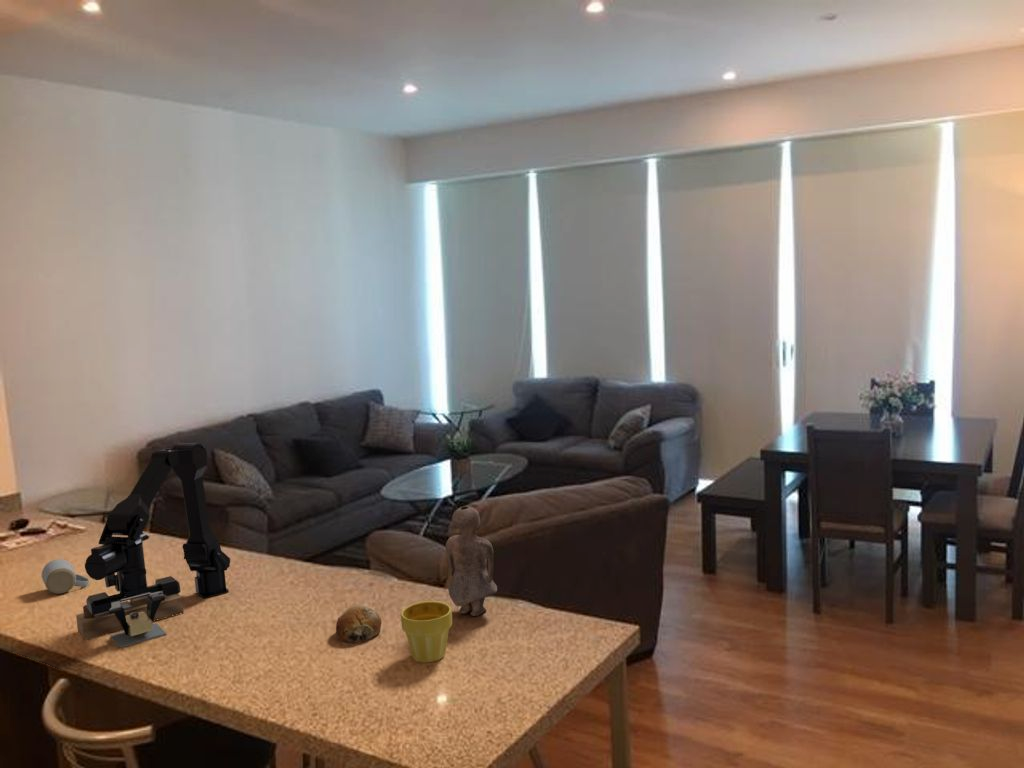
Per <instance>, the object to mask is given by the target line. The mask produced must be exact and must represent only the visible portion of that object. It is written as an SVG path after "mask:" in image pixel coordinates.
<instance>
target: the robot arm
mask: <svg viewBox="0 0 1024 768" xmlns="http://www.w3.org/2000/svg"><path fill="white" fill-rule="evenodd" d="M150 458H151V459H150V461H149V463H148V464H147V466H146V467H145V469H144V471H143V473H142V474H141V476H140V477H139V479H138V481H137V482H136V483H135V485H134V487H133V488H132V490H131V492H130V494H129V495H128V496H127V497H126V498H125V499H123V500H121V501H120V502H118V503H117V504H116V505H115V506H114V508H112V510H111V511H110V512H109V513H108V515H107V518H106V522H105V525H104V527H103V530H102V532H101V535H100V538H99V540H98V545H99V546H95V547H92V548H90V552H91V554H90V555H88V556H87V558H86V559H85V562H84V563H85V564H84V569H85V572H86V575H88V577H89V578H91V579H92V580H95V581H100V580H103V579H104V581H105V582H104V583H105V587H106V588H111V587H114V589H115V590H116V592H119V593H115V594H112V595H108V594H107V592H106V591H104V592H100V593H99V592H98V593H96V594H95V593H94V594H91V595H88V597H87V598H86V605H87V608H88V610H89V611H90V612H91V614H99V613H103V612H107V611H108V612H109V614H115V616H116V617H117V619H118V621H119V623H120V625H121V627H122V628H123V632H125V634H126V635H128V627H127V622H126V617H125V612H124V608H123V607H122V606H121V602H125V601H130V600H131V599H135V598H139V597H143V596H146V602H147V616H148V617H149V618H150V619H151V620H152V624H154V621H153V620H154V617H155V614H156V611H157V609H158V607H159V605H160V603H161V601H164V600H165V597H164V596H163V594H165V595H166V596H170V595H174V594H180V593H181V585H180V582H179V581H178V580H177V579H176V578H174V576H172V575H170V576H165V577H162V578H158V579H157V578H156V579H155V581H154V582H155V583H154V584H152V585H148V583H147V582H148V581H147V568H146V562H145V561H146V560H145V554H144V546H143V543H144V542H145V541H146V540H149V539H150V536H149V535H148V534H146V533H144V531H145V530H146V526H147V524H148V522H149V518H150V507H151V504H152V503H153V501H154V499H155V497H156V495H157V494H158V492H159V491H160V489H161V487H162V485H163V484H164V482H165V480H166V479H167V477H168V475H169V473H170V472H171V470H172V471H173V473H174V474H175V475H176V476H177V477H178V479H180V481H181V487H182V493H183V501H184V506H185V513H186V519H187V520H186V521H187V526H188V532H189V536H188V538H187V540H186V542H185V543H183V544H182V549H183V560H185V561H186V564H187V566H188V567H189V570H190V572H195V574H196V576H195V577H194V586H195V592H196V593H197V595H199V596H200V597H201V598H203V599H208V598H211V597H214V596H218V595H222V594H226V593H229V591H230V590H229V589H228V588H227V582H226V574H225V572H226V571H227V570H228V569H229V568H230V566H231V564H230V563H231V558H230V557H229V556H228V555H227V554H226V553H225V552H223V550H222V547H221V544H220V540H219V539H218V537H217V536H215V534H214V533H213V532H212V531H211V525H210V518H209V512H208V505H207V499H206V492H205V486H204V480H203V479H204V478H203V476H204V474H205V471H206V469H207V466H208V453H207V449H206V447H205V446H204V445H203V444H201V443H194V442H193V443H191V442H190V443H189V442H188V443H185V442H183V443H181V442H178V443H175V444H174V445H173V446H172V447H170V448H168V447H167V448H163V449H156V450H155V451H153V452H152V454H151V457H150Z"/></svg>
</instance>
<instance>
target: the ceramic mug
mask: <svg viewBox="0 0 1024 768" xmlns="http://www.w3.org/2000/svg"><path fill="white" fill-rule="evenodd" d="M41 579H42V581H43V583H44V585H45V587H46V589H47V590H48V591H49V592H51V594H52V593H53V594H56V595H62V594H65V593H68V592H70V590H72V589H73V587H80V588H86V587H87V586H88V585H89V583H90V579H89V578H88V577H86V576H84V575H81V574H77V573H75V569H74V567H73V564H71V563H70V562H69V561H67V560H65V559H61V558H57V559H53V560H50V561H49V562H47V563H46V564H45V565H44V567H43V569H42V570H41Z"/></svg>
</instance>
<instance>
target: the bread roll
mask: <svg viewBox="0 0 1024 768" xmlns="http://www.w3.org/2000/svg"><path fill="white" fill-rule="evenodd" d="M381 628H382V618H381V617H380V615H379V613H378V612H377V611H375V610H374V609H373V608H371V607H370V606H366V605H361V604H360V605H351V606H349V607H347V609H346V610H344V612H342V614H341V615H339V617H338V618H337V620H336V624H335V634H336V637H337V638H338V640H339V641H342V642H346V643H360V642H364V641H368V640H370V639H373V638H375V637H377V636H378V634H380V633H381Z"/></svg>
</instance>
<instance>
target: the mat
mask: <svg viewBox="0 0 1024 768" xmlns="http://www.w3.org/2000/svg"><path fill="white" fill-rule="evenodd" d="M152 629H153V631H149V632H145V633H142V634H138V635H134V636H130V635H129V634H128V635H126V634H125V632H124V631H123V632H118V633H115V634H111V635H110V638H111V640H112V639H113V640H112V641H113V642H114V643H115V645H116V646H117V647H118V648H119V649H121V648H125V647H128V646H133V645H135V644H139V643H143V642H146V640H147V641H149V640H153V639H156V638H160V637H164V636H167V632H166V631H165V630H164V629H162V627H161V626H160V625H159V624H158V623H157V622H155V623H152Z"/></svg>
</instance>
